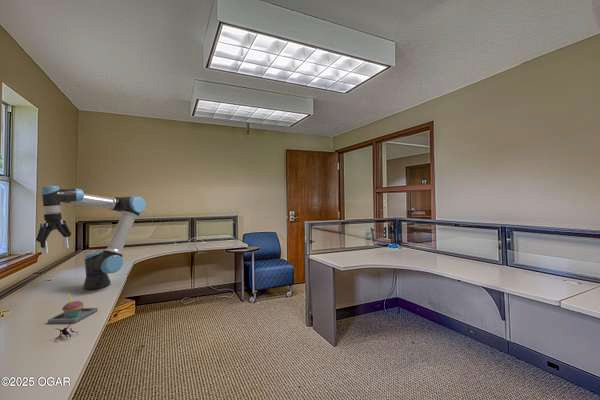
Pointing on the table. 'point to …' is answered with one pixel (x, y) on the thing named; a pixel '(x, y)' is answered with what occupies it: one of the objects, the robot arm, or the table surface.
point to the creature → (64, 332)
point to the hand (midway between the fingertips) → (55, 250)
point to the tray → (64, 318)
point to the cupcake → (73, 308)
